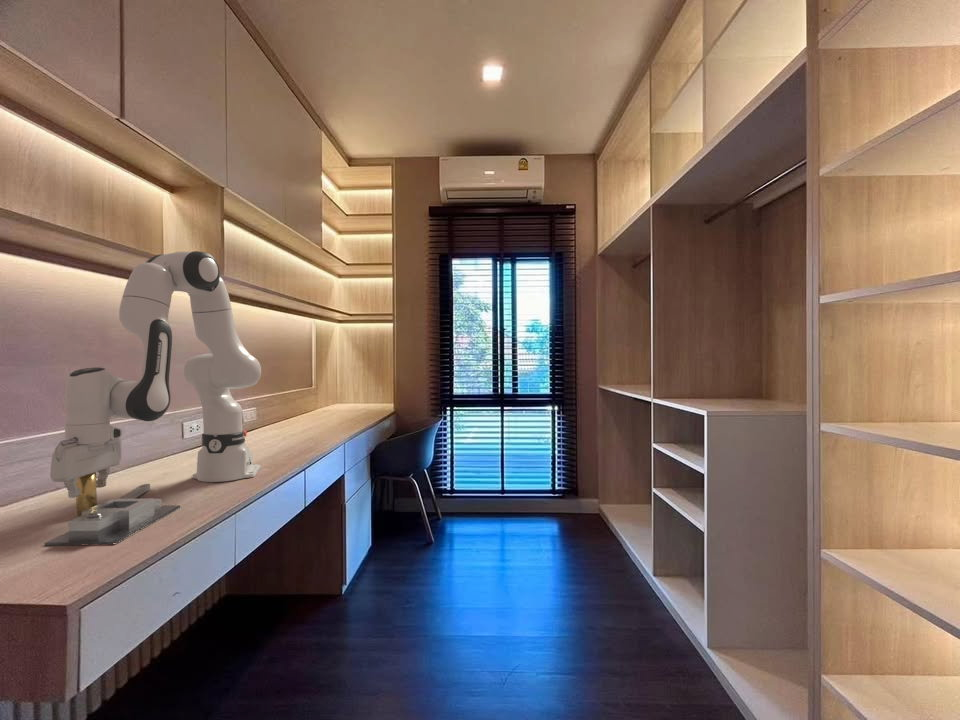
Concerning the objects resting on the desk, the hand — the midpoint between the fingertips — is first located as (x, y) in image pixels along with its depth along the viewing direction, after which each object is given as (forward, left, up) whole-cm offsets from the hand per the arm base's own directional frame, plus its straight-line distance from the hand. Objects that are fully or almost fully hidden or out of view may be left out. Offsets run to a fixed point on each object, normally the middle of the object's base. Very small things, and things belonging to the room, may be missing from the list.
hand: (88, 491), depth 130 cm
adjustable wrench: (-12, +4, -5) cm, 14 cm away
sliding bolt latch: (+8, +12, -6) cm, 15 cm away
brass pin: (0, 0, -6) cm, 6 cm away
